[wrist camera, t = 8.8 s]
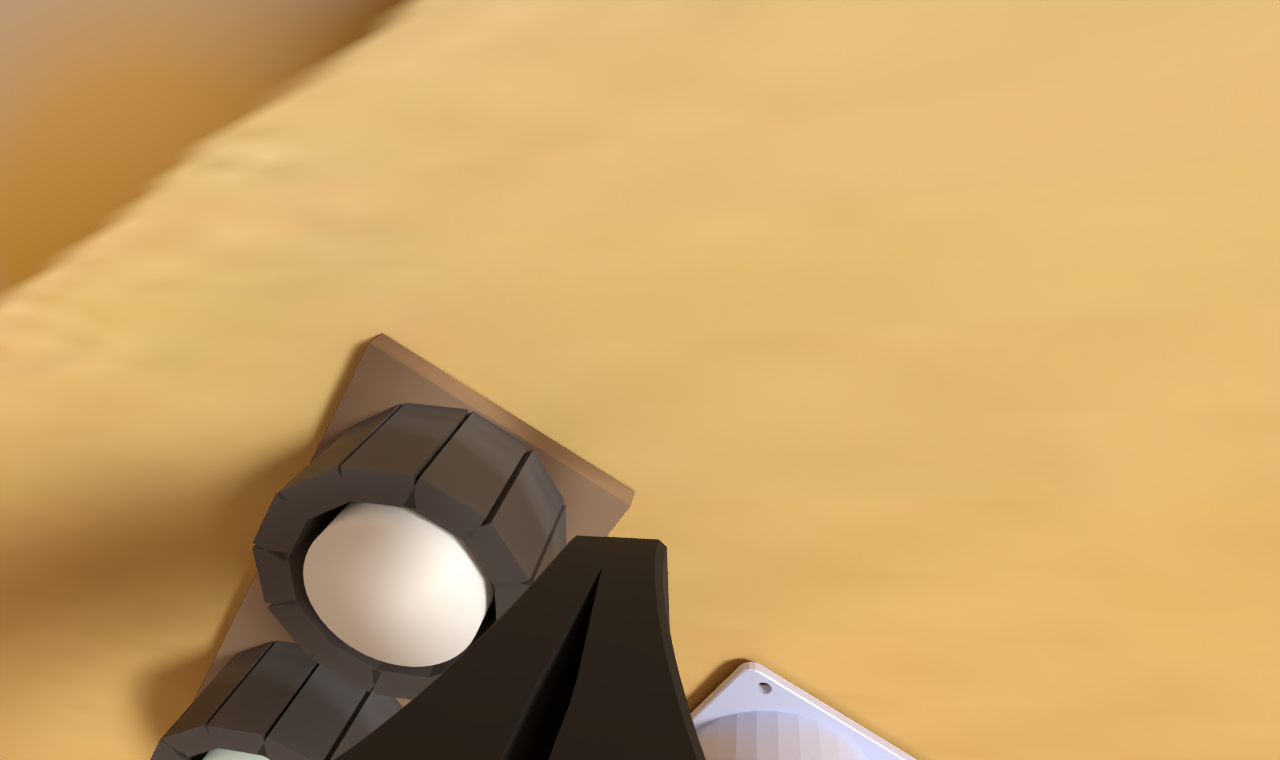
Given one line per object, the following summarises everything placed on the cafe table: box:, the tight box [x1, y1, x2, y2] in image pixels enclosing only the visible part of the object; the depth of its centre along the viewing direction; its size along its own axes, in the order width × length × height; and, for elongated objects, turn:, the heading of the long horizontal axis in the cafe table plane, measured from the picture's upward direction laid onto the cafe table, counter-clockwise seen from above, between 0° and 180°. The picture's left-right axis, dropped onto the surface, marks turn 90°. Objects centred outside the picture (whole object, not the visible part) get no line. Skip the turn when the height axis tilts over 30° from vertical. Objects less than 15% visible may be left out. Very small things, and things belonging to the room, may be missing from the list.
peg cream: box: [303, 501, 495, 667], centre depth 21 cm, size 5×5×4 cm
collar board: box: [151, 333, 635, 760], centre depth 24 cm, size 9×20×4 cm, turn 147°
